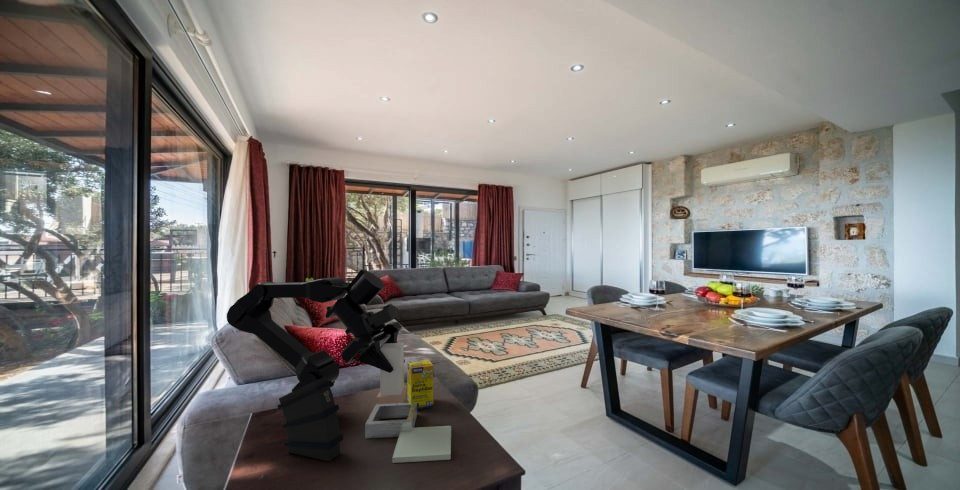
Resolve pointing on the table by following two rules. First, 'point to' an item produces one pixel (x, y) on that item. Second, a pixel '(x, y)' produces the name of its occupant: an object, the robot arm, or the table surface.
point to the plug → (392, 375)
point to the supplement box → (420, 383)
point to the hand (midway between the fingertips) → (398, 367)
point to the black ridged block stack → (312, 421)
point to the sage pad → (423, 444)
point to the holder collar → (391, 427)
